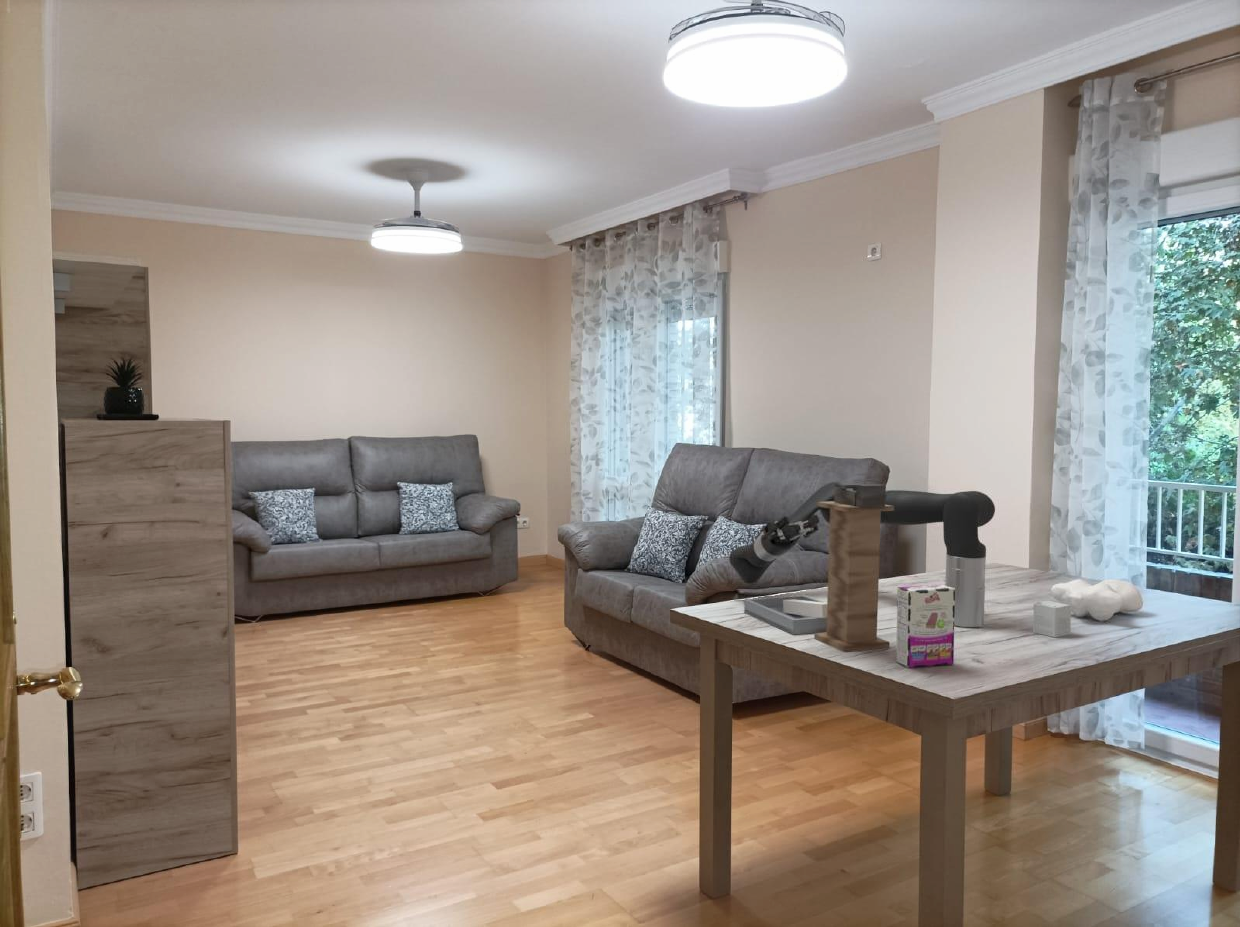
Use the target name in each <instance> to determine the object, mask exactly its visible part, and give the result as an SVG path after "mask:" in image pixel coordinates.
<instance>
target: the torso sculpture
mask: <svg viewBox="0 0 1240 927" xmlns="http://www.w3.org/2000/svg"><path fill="white" fill-rule="evenodd" d="M1050 593H1051V596H1052V597H1053V599H1055V600H1057V601H1059V603H1062V604H1067V605H1071V613H1072V614H1073V615H1074V616H1075V617H1078V618H1083V617H1085V616H1086V615H1088V614H1090V616H1091V617H1092V618H1093V619H1094V620H1096V621H1097V620H1106V621H1108V620H1110V619H1111V618H1113V616H1114V615H1115V614H1116V613H1117V614H1118V613H1123V612H1124V613H1134V612H1137V611H1140V610H1141V609H1142V608H1143V606H1144V600H1143V597H1142V594H1141V592H1140V590H1139V588H1137V586H1136V585H1134V584H1132V583H1131V582H1129V581H1123V580H1119V579H1112V578H1111V579H1110V578H1108V579H1105V580H1103V581H1101V582H1098V583H1096V584H1094V585H1093V584H1090V583H1089V582H1087V581H1085V580H1083V579H1080V578H1079V579H1078V578H1077V579H1072V580H1071V581H1068V582H1058V583H1056V584H1054V585H1052V587H1051V590H1050Z"/></svg>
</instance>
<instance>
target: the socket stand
mask: <svg viewBox="0 0 1240 927" xmlns="http://www.w3.org/2000/svg"><path fill="white" fill-rule="evenodd" d="M886 486H887V485H886V484H880V483H878V484H866V483H859V482H858V483H857V482H846V483H845V482H843V483H842V482H840V483H837V484H835V487H838V488H837V489H835V492H834V501H829V502H818V506H820V507H825V508H830V523H829V534H828V536H829V537H828V565H827V566H828V570H827V572H828V573H827V574H828V575H827V602H826V603H827V632H819V633H813V637H814V640H817V641H819V642H821V643H824V644H826V645H828V646H831V647H833V648H834V649H836V650H839V651H840V652H841V651H842V652H846V653H847V652H854V651H855V652H856V651H865V650H866V651H867V650H875V649H877V650H878V649H886V648H890V644H891V643H890V641H888V640H886V639H883V638H880V637H878V613H879V612H878V610H879V609H878V608H879V607H878V606H879V605H878V604H879V603H878V602H879V581H880V580H879V579H880V578H879V576H880V545H881V524H880V521H881V511H894V506H890V505H885V496H886V491H887V489H886V488H887V487H886ZM839 488H844V489H839ZM845 489H846V490H845Z"/></svg>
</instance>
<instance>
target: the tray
mask: <svg viewBox="0 0 1240 927" xmlns="http://www.w3.org/2000/svg"><path fill="white" fill-rule="evenodd" d="M792 599H795V600H805V601H814V602H823V601H822V600H818V599H815V598H814V597H811V596H807V595H805V594H799V595H798V594H797V595H784V596H771V597H770V596H769V597H758V598H757V597H756V598H745V599H744V602H743V603H744V604H743V605H744V606H743V608H744V609H743V613H744V614H747V615H749V616H751V617H753V618H756V619H758V620H760V621H762V622H763V623H767V624H769V625H771V626H773V627H775V628H777V629H779V630H782V631H784V632H786V633H788V634H790V635H793V636H797V635H805V634H806V635H807V634H814V633H824V632H827V618H819V617H812V616H804V615H797V614H790V613H784V610H783V600H792Z"/></svg>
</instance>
